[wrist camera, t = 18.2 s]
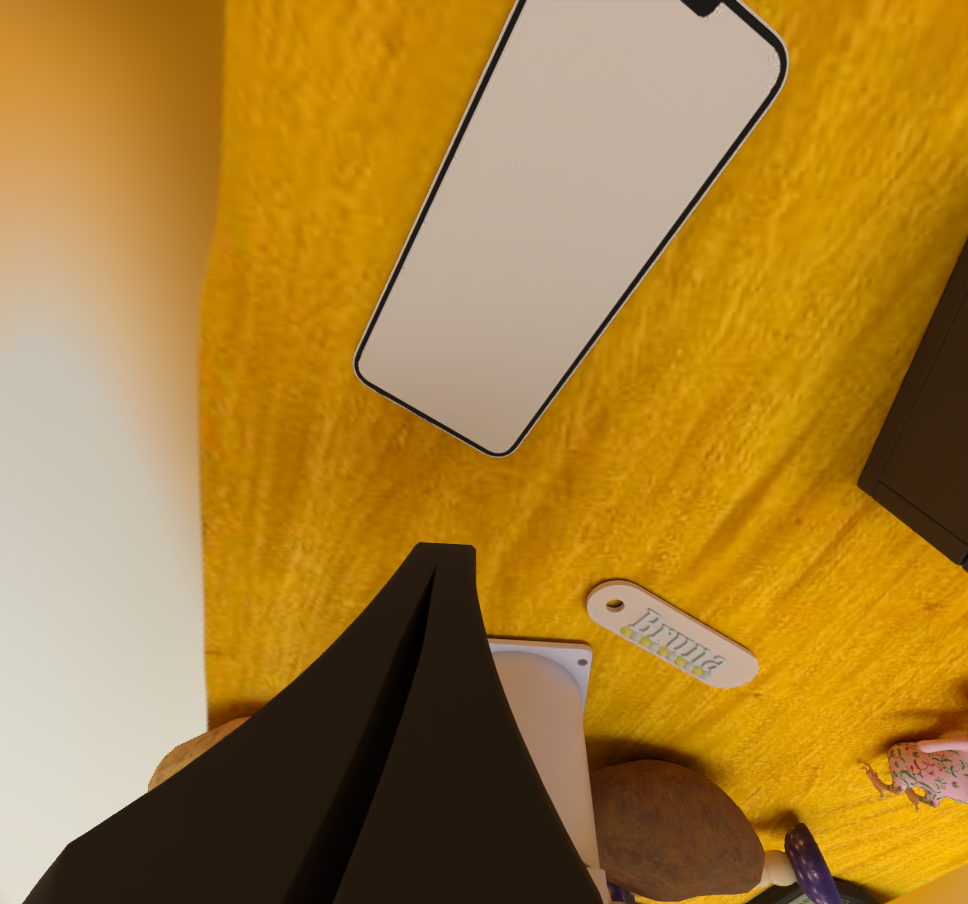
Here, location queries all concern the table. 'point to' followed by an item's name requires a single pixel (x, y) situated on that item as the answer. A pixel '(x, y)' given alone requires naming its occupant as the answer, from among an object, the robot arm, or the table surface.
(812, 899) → the purple dumbbell
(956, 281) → the charcoal case
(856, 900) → the calculator
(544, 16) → the smartphone
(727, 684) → the keychain
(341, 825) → the robot arm
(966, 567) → the cover
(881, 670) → the table surface
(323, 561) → the table surface
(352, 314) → the table surface
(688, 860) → the potato
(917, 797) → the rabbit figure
